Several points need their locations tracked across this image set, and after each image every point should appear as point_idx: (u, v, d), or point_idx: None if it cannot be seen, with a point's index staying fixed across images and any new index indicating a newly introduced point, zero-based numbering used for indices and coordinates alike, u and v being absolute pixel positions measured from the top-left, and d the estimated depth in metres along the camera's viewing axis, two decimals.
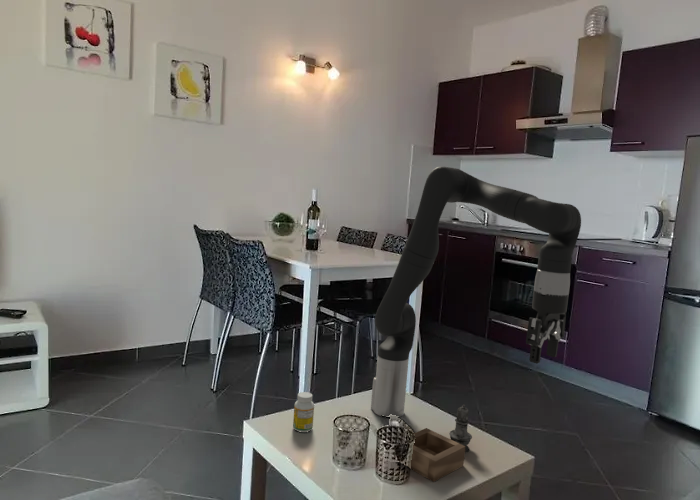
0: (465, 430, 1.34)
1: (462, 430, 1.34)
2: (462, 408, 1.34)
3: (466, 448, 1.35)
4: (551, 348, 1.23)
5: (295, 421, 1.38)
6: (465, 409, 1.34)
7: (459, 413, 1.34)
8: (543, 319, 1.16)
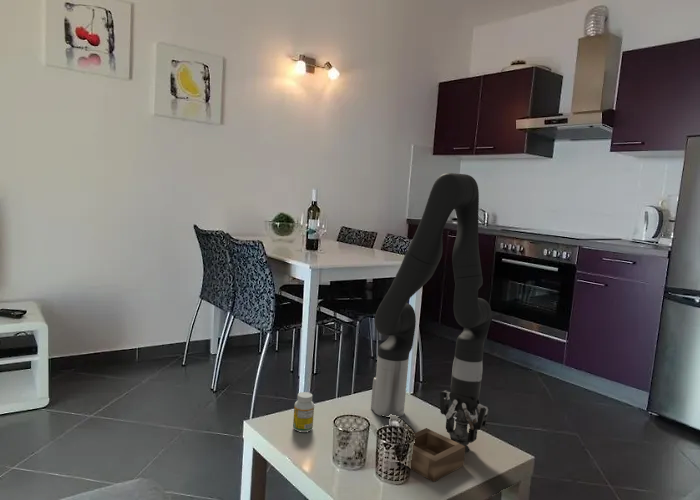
0: (465, 430, 1.34)
1: (462, 430, 1.34)
2: None
3: (466, 448, 1.35)
4: (451, 425, 1.37)
5: (295, 421, 1.38)
6: None
7: (459, 413, 1.34)
8: (479, 402, 1.32)
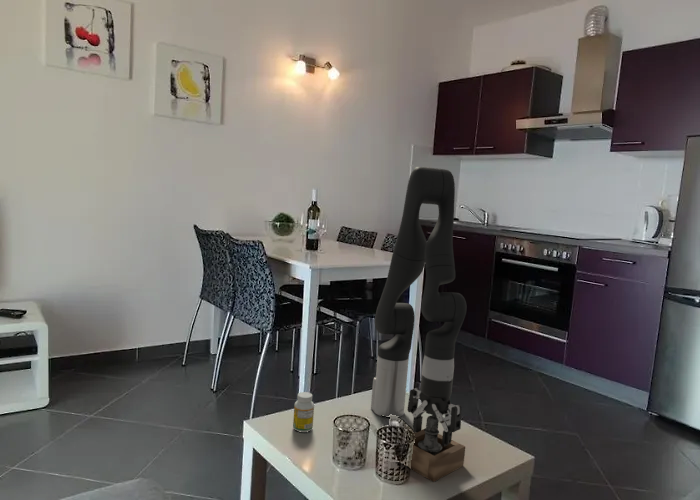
0: (435, 441, 1.25)
1: (432, 440, 1.25)
2: (431, 417, 1.25)
3: None
4: (419, 424, 1.29)
5: (295, 421, 1.38)
6: (435, 418, 1.25)
7: (428, 422, 1.25)
8: (450, 403, 1.23)
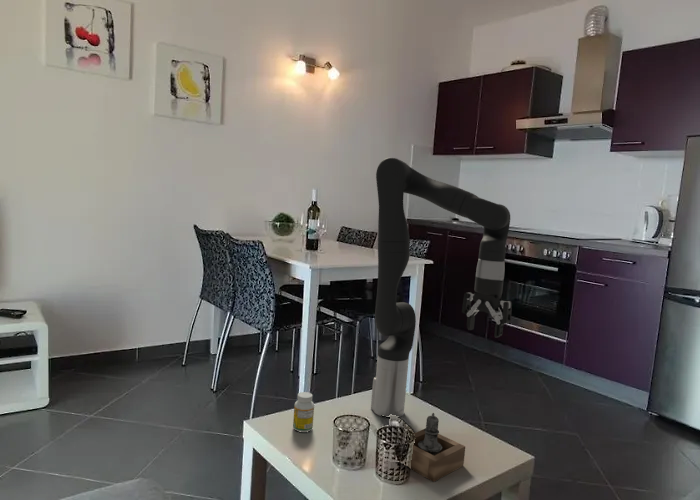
0: (435, 441, 1.25)
1: (432, 440, 1.25)
2: (431, 417, 1.25)
3: None
4: (472, 323, 1.47)
5: (295, 421, 1.38)
6: (435, 418, 1.25)
7: (428, 422, 1.25)
8: (501, 300, 1.41)
